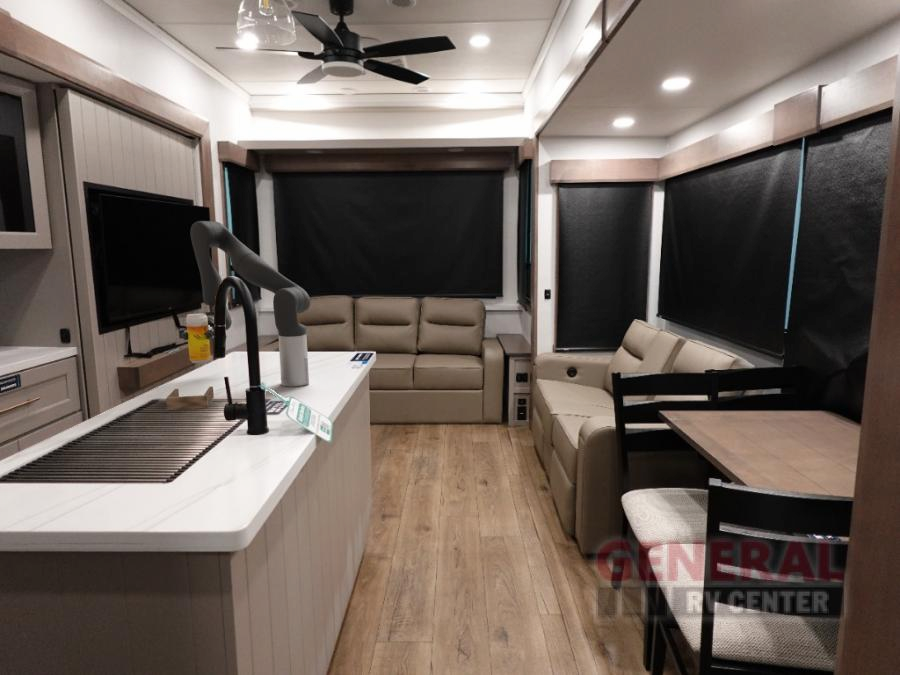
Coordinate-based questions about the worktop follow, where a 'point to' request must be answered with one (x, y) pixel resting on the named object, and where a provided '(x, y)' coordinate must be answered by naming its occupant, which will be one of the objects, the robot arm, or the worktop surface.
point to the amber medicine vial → (198, 338)
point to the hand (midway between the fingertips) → (196, 336)
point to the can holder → (189, 400)
